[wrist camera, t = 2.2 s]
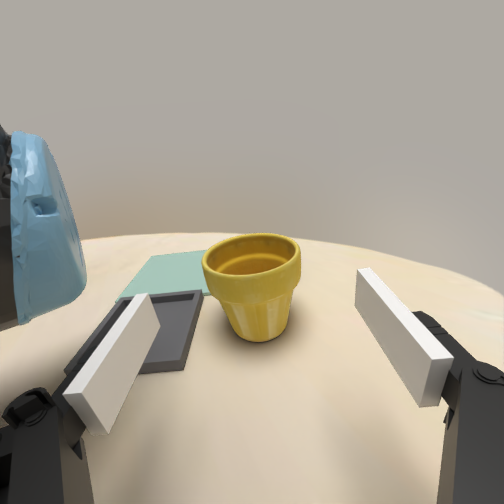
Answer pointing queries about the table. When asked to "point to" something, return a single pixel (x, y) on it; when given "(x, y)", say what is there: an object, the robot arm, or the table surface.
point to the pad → (169, 275)
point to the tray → (168, 336)
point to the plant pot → (254, 282)
